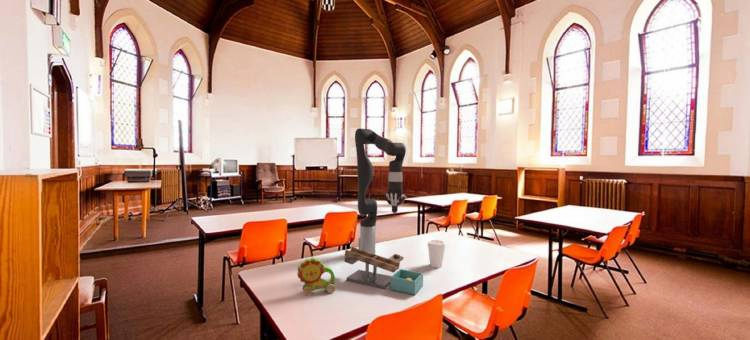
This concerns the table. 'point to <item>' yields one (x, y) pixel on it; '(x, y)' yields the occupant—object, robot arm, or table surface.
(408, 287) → the teal storage bin
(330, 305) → the table surface
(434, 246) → the foam cup
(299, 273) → the toy lion
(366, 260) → the lever
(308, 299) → the table surface
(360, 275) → the stand
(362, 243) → the robot arm
